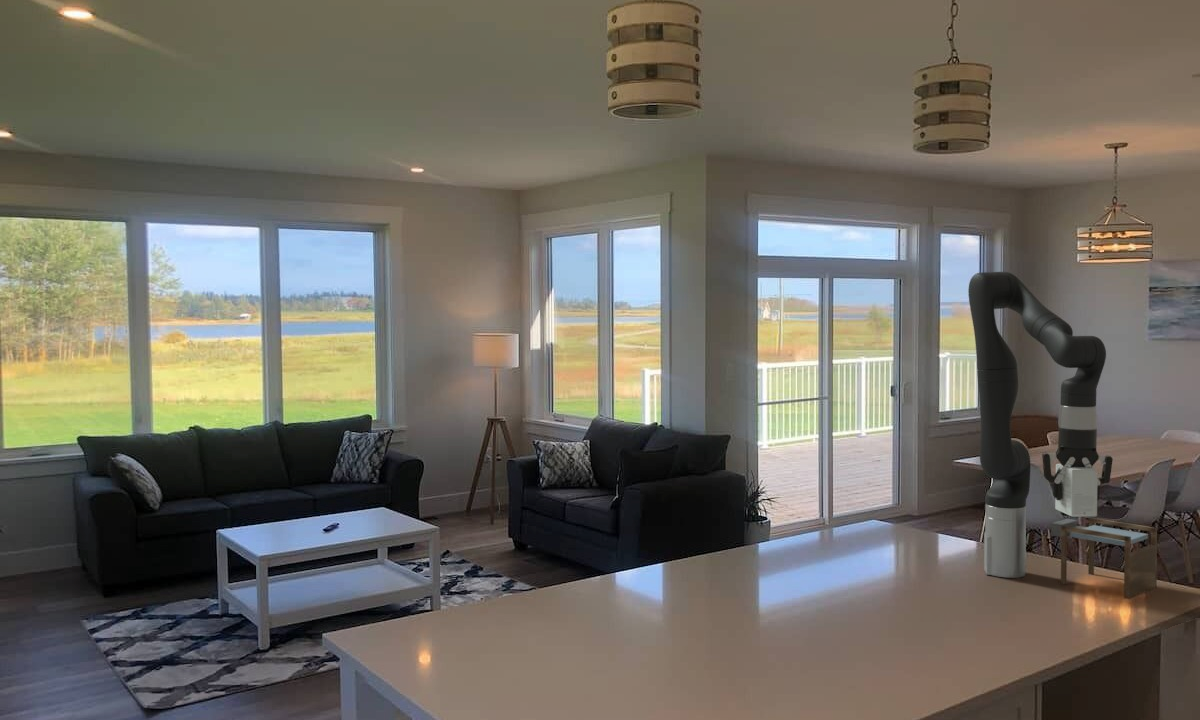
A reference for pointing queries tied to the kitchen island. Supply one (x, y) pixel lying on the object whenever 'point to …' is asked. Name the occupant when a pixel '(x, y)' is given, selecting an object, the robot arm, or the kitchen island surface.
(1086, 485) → the small box
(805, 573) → the kitchen island surface
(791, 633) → the kitchen island surface
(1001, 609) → the kitchen island surface
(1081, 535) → the trapdoor
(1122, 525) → the trapdoor frame
